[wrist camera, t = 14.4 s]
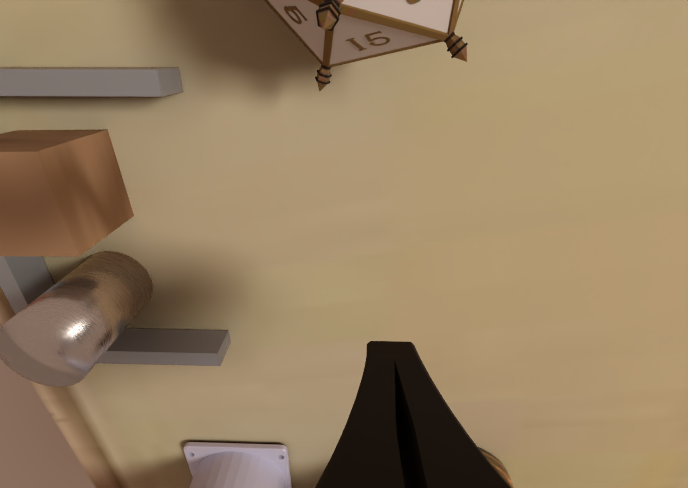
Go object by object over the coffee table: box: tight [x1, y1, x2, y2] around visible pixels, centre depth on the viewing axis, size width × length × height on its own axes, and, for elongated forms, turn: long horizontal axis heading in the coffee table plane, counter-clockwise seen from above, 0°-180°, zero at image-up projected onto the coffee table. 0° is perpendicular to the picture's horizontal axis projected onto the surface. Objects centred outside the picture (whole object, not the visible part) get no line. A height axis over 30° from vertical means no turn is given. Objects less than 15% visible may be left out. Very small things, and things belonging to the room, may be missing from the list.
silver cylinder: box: [0, 251, 153, 387], centre depth 19 cm, size 4×4×6 cm
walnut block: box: [0, 130, 134, 256], centre depth 17 cm, size 4×4×4 cm
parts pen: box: [0, 67, 230, 366], centre depth 19 cm, size 16×11×2 cm
